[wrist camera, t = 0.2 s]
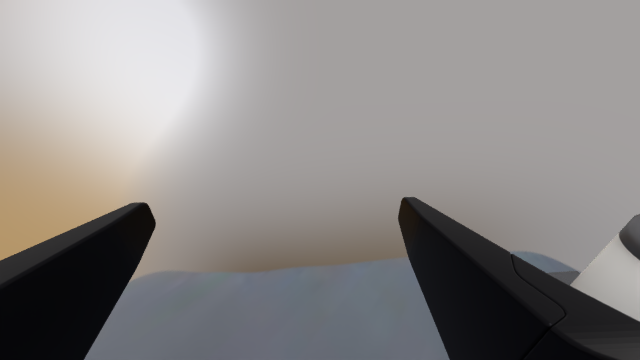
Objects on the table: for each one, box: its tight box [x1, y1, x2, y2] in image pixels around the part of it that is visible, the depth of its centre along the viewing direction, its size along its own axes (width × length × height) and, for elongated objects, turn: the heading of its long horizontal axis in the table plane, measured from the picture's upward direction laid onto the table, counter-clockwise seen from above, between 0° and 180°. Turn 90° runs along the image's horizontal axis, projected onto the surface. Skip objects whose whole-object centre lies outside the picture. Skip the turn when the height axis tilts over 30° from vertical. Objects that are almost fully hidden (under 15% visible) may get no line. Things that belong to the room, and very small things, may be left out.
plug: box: [570, 214, 640, 321], centre depth 15 cm, size 5×5×13 cm
